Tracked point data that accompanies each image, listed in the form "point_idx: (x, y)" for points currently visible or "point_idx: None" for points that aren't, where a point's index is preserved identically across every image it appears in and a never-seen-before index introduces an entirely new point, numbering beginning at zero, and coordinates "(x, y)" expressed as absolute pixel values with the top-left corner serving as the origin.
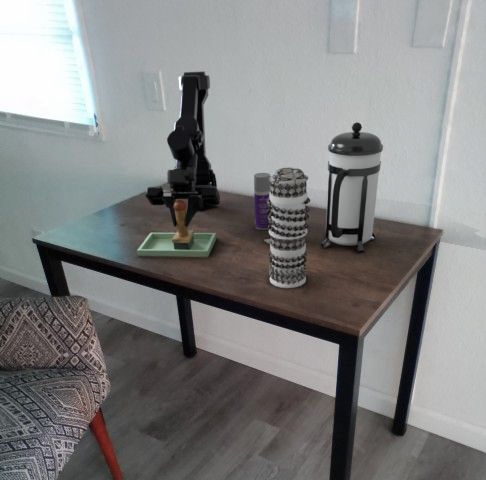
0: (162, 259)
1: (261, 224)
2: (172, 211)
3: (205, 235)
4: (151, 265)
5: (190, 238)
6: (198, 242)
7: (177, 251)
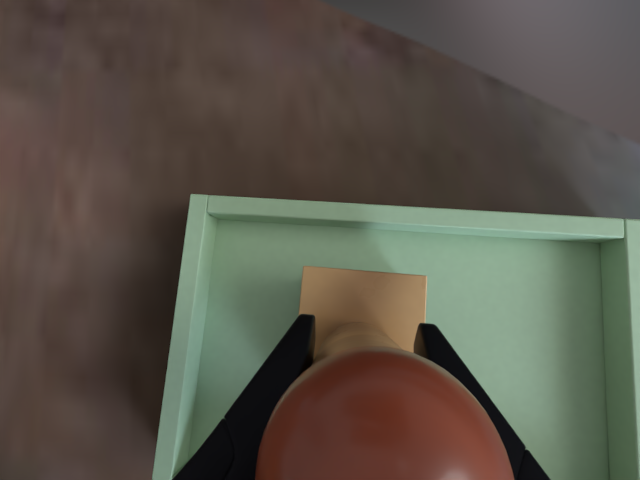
0: (454, 204)
1: None
2: None
3: None
4: (496, 134)
5: None
6: None
7: (370, 204)
